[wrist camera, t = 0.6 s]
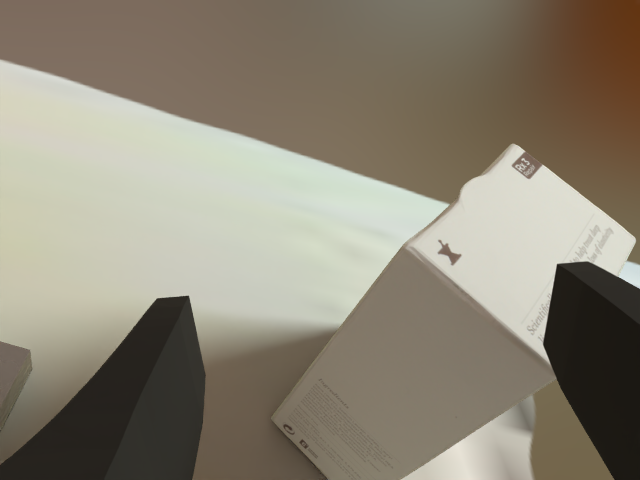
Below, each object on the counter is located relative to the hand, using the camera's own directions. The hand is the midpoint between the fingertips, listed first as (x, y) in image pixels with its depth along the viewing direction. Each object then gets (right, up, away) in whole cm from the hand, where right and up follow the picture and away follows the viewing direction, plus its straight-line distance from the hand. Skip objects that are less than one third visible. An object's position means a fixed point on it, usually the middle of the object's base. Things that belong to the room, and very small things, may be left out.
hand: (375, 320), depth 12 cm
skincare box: (+1, -7, +18) cm, 20 cm away
